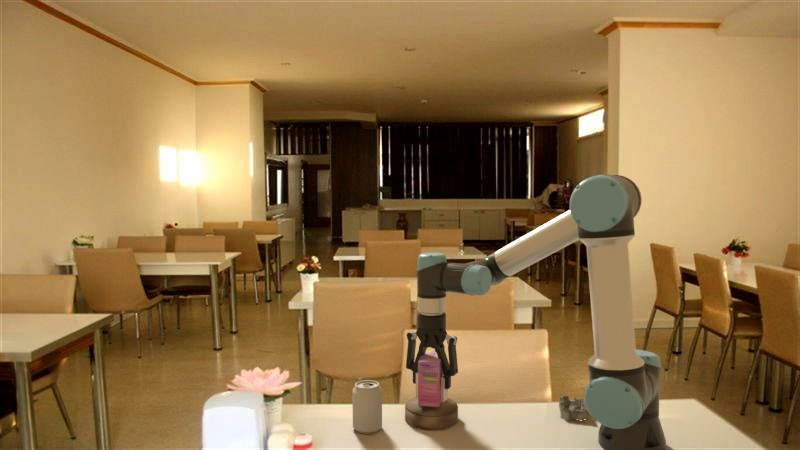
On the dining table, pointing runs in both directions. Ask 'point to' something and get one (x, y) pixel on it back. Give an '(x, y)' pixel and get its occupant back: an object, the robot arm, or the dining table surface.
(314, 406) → the dining table surface
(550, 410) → the dining table surface
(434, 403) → the box
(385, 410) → the dining table surface
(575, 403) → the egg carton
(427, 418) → the round lidded container
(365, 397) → the can
